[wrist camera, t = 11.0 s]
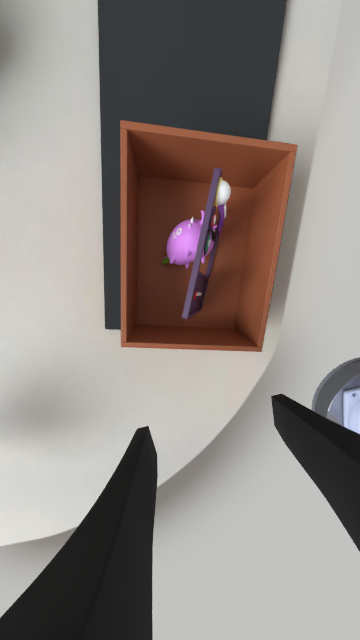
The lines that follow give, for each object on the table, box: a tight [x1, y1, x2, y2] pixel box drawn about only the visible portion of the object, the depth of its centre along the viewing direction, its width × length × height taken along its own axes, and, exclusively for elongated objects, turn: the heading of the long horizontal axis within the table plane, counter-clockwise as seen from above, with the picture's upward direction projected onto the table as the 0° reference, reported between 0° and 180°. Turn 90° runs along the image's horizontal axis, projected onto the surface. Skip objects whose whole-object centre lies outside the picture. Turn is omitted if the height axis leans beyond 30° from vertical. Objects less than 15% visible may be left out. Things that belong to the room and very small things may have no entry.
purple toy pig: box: [162, 168, 231, 319], centre depth 15 cm, size 7×5×9 cm
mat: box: [98, 0, 286, 330], centre depth 14 cm, size 48×14×1 cm, turn 176°
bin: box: [120, 120, 297, 352], centre depth 16 cm, size 14×11×6 cm
